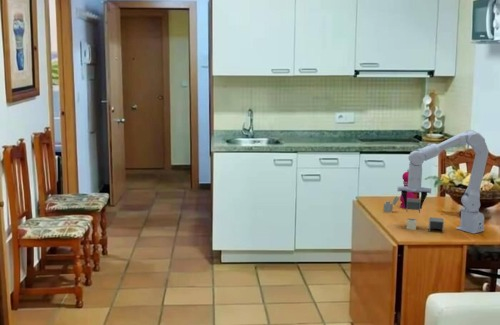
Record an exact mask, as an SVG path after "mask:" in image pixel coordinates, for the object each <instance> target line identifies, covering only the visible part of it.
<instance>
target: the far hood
mask: <svg viewBox="0 0 500 325" xmlns="http://www.w3.org/2000/svg"><path fill="white" fill-rule="evenodd" d="M420 203H421V198H419V199H411V198H407V208H406V209H405V211H406V213H408V210H414V211H418V214H420V213H421V209H420Z"/></svg>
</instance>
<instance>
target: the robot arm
mask: <svg viewBox="0 0 500 325" xmlns="http://www.w3.org/2000/svg"><path fill="white" fill-rule="evenodd" d="M457 145H461V146H467V145H468V146H470V147H471V149H472V150H473V152H474V153H475V155H474V160H473V162H472V168H471V172H470V176H469V182H468V185H467V188H466V189H465V192H464V193H463V195H462V196H461V199H460V201H461V204H462V207H461V211H460V221H459V222H460V223H459V226H457V227H455V229H457V230H460V231H463V232H467V233H469V234H478V233H481V232H485V229H484V228H485V214H484V213H482V212H480V211H479V210H480V207H481V201H480V199H481V198H480V197H481V193H480V191H481V190H480V189H481V185H482V181H483V177H484V174H485V170H486V166H487V161H488V157H489V152H490V150H489V148H488V145H487V143H486V139H485V137H484V136H483V135H481V133H480V132H477V131H475V130H474V129H473V130H472V129H468V130H466V131H463V132H460V133H458V134H456V135H454V136H452V137H449V138H448V139H446V140H444V141H442V142H439V143H438V144H436V143H431V142H430V143H429V142H428V143H427V146H424V147H422V148H418V149H417V150H413V151H411V152H410V153H409V155H408V157H407V158H408V160H409V163H408V164H409V165H408V169H409V175H408V186H404V185H403V186H402V185H401V186H399V185H398V186H397V192H401V194H402V196H403V199H404V203H405V208H407V192H420V201H421V203H420V210H422V208H423V205H424V202H425V200H426V198H427V196H428V194H432V188H430V187H422V180H423V179H422V178H423V176H422V175H423V163H424V161H426V162H427V161H428V160H431V159H433V158H435V157H438V156H439V155H440V153H441V152H442V151H445V150H447V149H449V148H453V147H455V146H457ZM401 194H400V195H401Z"/></svg>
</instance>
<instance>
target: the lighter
mask: <svg viewBox="0 0 500 325" xmlns="http://www.w3.org/2000/svg"><path fill="white" fill-rule="evenodd" d="M399 200H400V196H395V197H394V199H393V201H392V203H391V201H386V202H383V211H384V212H383V213H390V212H392V213H393V208H394V206H396V204H397V203H398V201H399Z"/></svg>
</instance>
